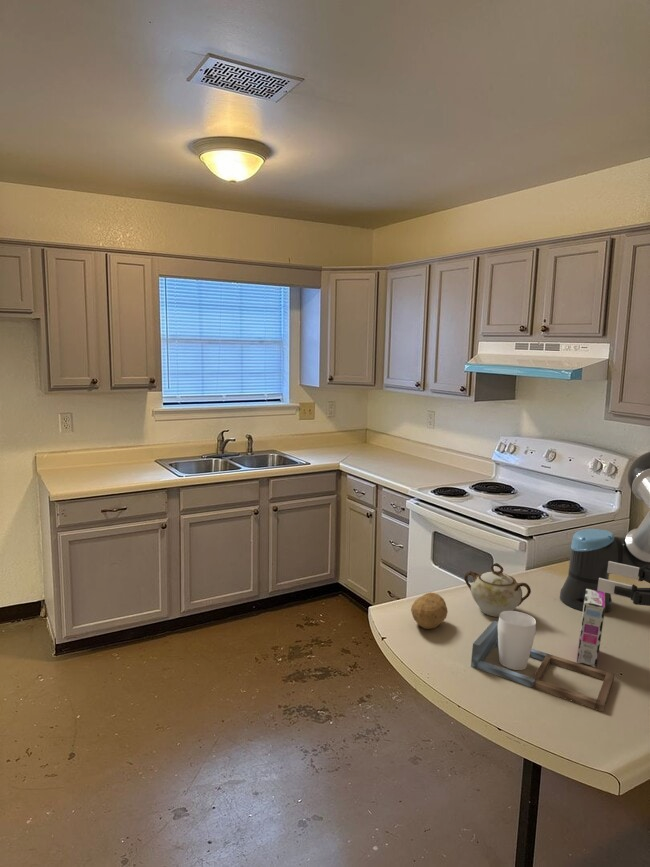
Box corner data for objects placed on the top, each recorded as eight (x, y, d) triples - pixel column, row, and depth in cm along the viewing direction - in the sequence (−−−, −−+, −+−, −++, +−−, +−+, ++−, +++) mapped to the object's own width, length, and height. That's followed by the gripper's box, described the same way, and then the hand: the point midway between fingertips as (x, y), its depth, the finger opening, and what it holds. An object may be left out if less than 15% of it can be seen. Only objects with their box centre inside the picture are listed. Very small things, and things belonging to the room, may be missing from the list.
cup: (534, 675, 143) (539, 629, 142) (495, 670, 145) (500, 623, 143) (529, 657, 152) (533, 613, 150) (492, 651, 154) (497, 608, 152)
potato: (403, 631, 163) (405, 603, 162) (418, 612, 175) (420, 586, 174) (438, 640, 159) (440, 612, 157) (450, 620, 171) (453, 593, 170)
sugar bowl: (454, 611, 177) (458, 563, 175) (469, 594, 190) (473, 549, 188) (521, 629, 167) (527, 579, 165) (533, 611, 180) (538, 564, 178)
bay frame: (613, 680, 143) (616, 656, 142) (602, 711, 130) (605, 686, 129) (491, 641, 159) (493, 620, 158) (470, 666, 146) (472, 643, 145)
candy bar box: (597, 669, 148) (605, 607, 145) (576, 663, 150) (583, 602, 148) (598, 649, 158) (605, 591, 156) (578, 645, 160) (585, 587, 158)
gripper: (710, 640, 113) (591, 609, 125) (711, 598, 134) (609, 574, 146) (716, 603, 112) (595, 575, 124) (716, 566, 133) (613, 545, 145)
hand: (603, 575), depth 135 cm, fingers open, 13 cm apart
